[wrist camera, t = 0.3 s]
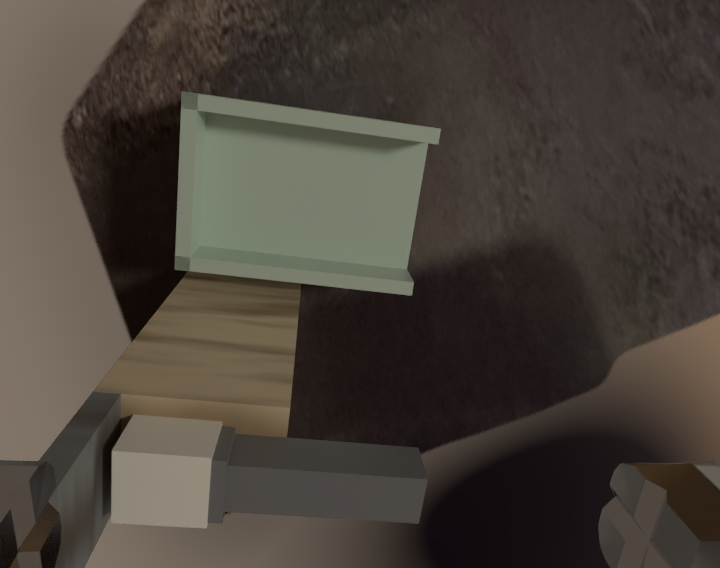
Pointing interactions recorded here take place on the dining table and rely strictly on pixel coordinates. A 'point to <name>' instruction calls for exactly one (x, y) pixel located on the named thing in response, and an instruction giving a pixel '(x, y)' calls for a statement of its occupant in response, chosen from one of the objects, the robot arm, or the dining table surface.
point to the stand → (179, 388)
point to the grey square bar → (256, 476)
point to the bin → (297, 194)
